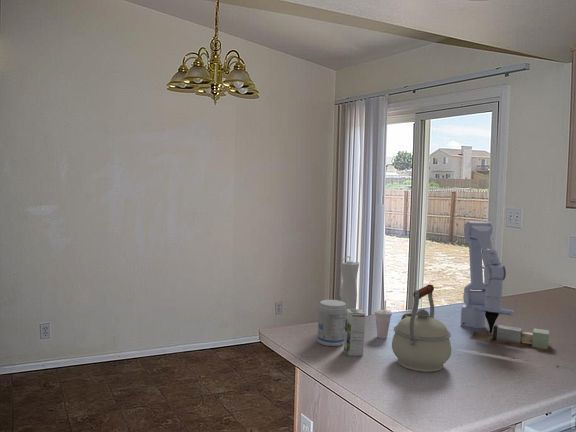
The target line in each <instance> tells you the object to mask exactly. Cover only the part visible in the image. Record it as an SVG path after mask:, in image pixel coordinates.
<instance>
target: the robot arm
mask: <svg viewBox="0 0 576 432" xmlns="http://www.w3.org/2000/svg"><path fill="white" fill-rule="evenodd" d="M463 230H464V231H463V232H464V240H465V242H466V243H467V244H468V250H469V251H468V252H469V270H470V271H469V272H470V273H469V274H470V283H467V284H466V286H464V288H463V296H462V297H463V299H462V300H463V305H462V307H461V312H460V326H463V327H468V328H474V329H484V328H486V322H487V324H488V330H489V333H490V334H493V327H494V325H495V323H496V321H497V319H498V317H499V316H500V315H502V316H509V317H514V313H515V311H514V310H512V309H507V308H503V307H502V295H503V291H502V290H503V281H505V279H506V275H507V271H506V266H505V265H504V264H503V263H502V262H501V261H500V260H499V256H498V253H497V251H496V250H495V249H493V246H492V240H491V236H492V233H493V225H492V222H490V221H470V220H468V221H466V222H465V223H464V228H463ZM483 266H484V269H483Z"/></svg>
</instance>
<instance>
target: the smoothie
mask: <svg viewBox="0 0 576 432" xmlns="http://www.w3.org/2000/svg"><path fill="white" fill-rule="evenodd" d="M383 302H384V306H383V307H384V309H377V310H374V315H375V325H376V328H375V329H376V337H377V338H378V339H387V338H388V334H389V329H390V323H391V319H392V318H391V317H392V314H393V312H392V311H390V310H387V300H384V301H383Z"/></svg>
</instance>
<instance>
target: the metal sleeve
mask: <svg viewBox="0 0 576 432" xmlns="http://www.w3.org/2000/svg"><path fill="white" fill-rule="evenodd" d="M497 325H498V327H497V341H503V342H509V343H515V344H520V343H521V341H520V338H521V331H523V327H516V326H515V327H514V326H507V325H504V324H503V325H502V324H497Z"/></svg>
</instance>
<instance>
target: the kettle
mask: <svg viewBox="0 0 576 432" xmlns="http://www.w3.org/2000/svg"><path fill="white" fill-rule="evenodd" d="M434 291H435V287H434V285H432V284H427V285H426V286H423V287H421V288H419V289H418V290H415V291H414V292H413V297H414V299H413V300H414V301H413V302H414V303H413V306H412V311H411V313H412V314H411V316H409V317H406V318H403V319H402V320H401V319H400V320H399V321H398V323H397V324H396V326H394V327H393V331H394V334H393V337H392V342H391V350H392V352H393V354H394V355H395V357H396V358H397V363H398V365H400V366H401V367H403V368H405V369H407V370H411V371H415V372H422V373H433V372H435V373H436V372H438V371H440V370H442V369H443V368H444V364H446V362H447V361H449V359H450V358H451V355H452V345H451V339H450V338H451V336H452V333H451V332H450V331H449V330H448V328H447V326H446V325H445V324H444V323H443V322H442V321H440V320H438V319H437V318H435V303H434V298H433V292H434ZM426 296H427V297H428V303H429V312H428V311H427V310H425V308H422V309H419V306H420V305H419V304H420V299H422V298H424V297H426ZM418 309H419V310H418ZM416 314H417V315H418V316H416ZM428 316H430V317H428ZM434 318H435V319H434Z"/></svg>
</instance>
